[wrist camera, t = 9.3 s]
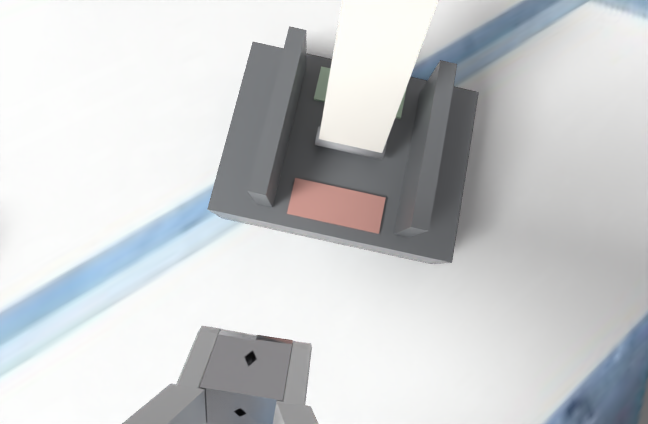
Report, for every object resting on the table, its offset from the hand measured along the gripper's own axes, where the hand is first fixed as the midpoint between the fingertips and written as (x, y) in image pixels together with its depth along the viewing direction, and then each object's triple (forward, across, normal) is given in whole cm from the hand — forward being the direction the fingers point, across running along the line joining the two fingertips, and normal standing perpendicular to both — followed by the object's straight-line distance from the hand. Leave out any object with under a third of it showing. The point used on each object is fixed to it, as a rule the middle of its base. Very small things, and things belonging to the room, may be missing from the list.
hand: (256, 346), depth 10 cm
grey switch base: (+20, -3, +5) cm, 20 cm away
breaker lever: (+16, -2, +1) cm, 16 cm away
